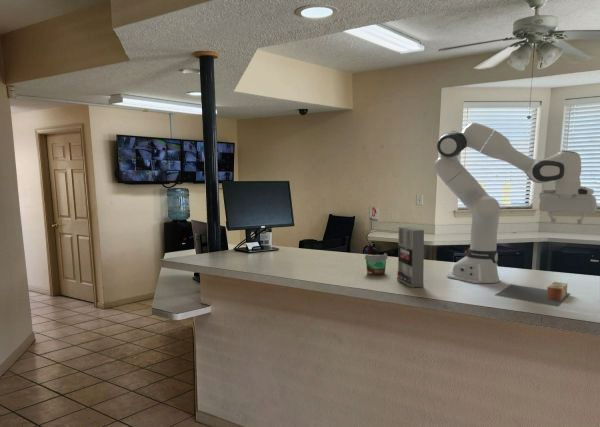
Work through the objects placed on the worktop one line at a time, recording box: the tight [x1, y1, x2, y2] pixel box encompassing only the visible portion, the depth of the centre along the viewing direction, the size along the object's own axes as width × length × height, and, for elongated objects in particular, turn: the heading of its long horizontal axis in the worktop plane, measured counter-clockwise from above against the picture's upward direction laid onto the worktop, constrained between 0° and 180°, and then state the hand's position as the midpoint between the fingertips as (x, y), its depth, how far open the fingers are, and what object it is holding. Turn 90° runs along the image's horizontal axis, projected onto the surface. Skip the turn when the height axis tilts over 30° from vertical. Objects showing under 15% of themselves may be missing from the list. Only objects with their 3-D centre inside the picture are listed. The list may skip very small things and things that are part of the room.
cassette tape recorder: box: [396, 226, 425, 289], centre depth 183 cm, size 14×6×25 cm, turn 13°
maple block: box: [546, 281, 568, 301], centre depth 160 cm, size 4×4×11 cm
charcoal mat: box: [494, 284, 571, 307], centre depth 163 cm, size 22×22×1 cm
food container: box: [364, 252, 389, 277], centre depth 202 cm, size 12×6×10 cm, turn 114°
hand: (566, 223), depth 171 cm, fingers open, 8 cm apart
